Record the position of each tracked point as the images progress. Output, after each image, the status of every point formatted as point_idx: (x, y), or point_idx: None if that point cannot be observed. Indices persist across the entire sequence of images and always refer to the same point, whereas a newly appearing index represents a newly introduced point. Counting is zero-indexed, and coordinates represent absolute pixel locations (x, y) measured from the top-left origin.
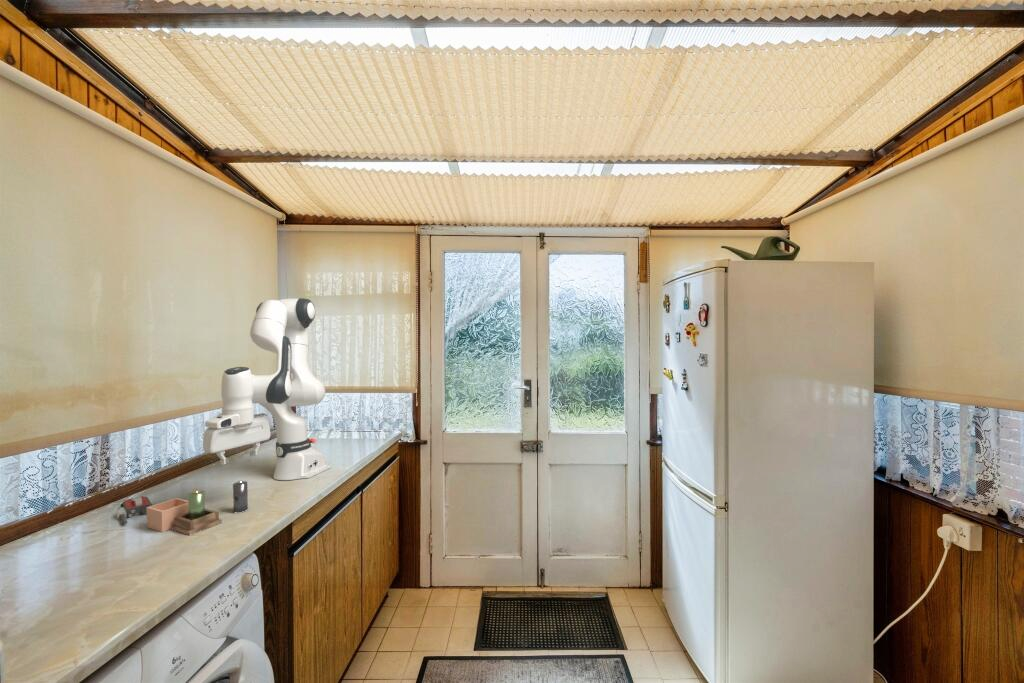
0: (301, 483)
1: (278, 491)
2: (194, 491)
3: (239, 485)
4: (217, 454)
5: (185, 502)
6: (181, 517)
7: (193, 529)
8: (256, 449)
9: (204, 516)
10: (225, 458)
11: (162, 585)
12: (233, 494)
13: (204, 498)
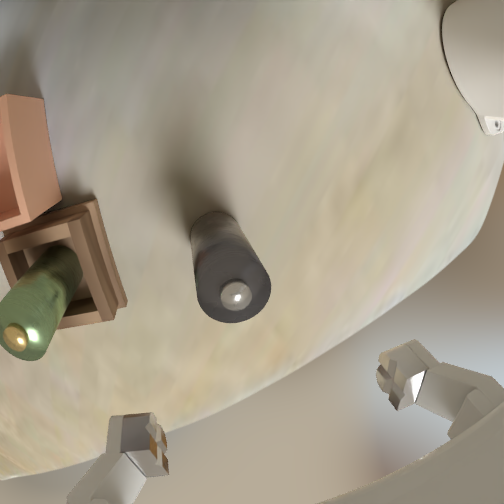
0: (459, 155)
1: (394, 155)
2: (8, 337)
3: (217, 318)
4: (77, 499)
5: (16, 185)
6: (10, 265)
7: None
8: (430, 404)
9: (69, 321)
10: (142, 479)
11: (27, 448)
12: (194, 266)
13: (55, 330)
